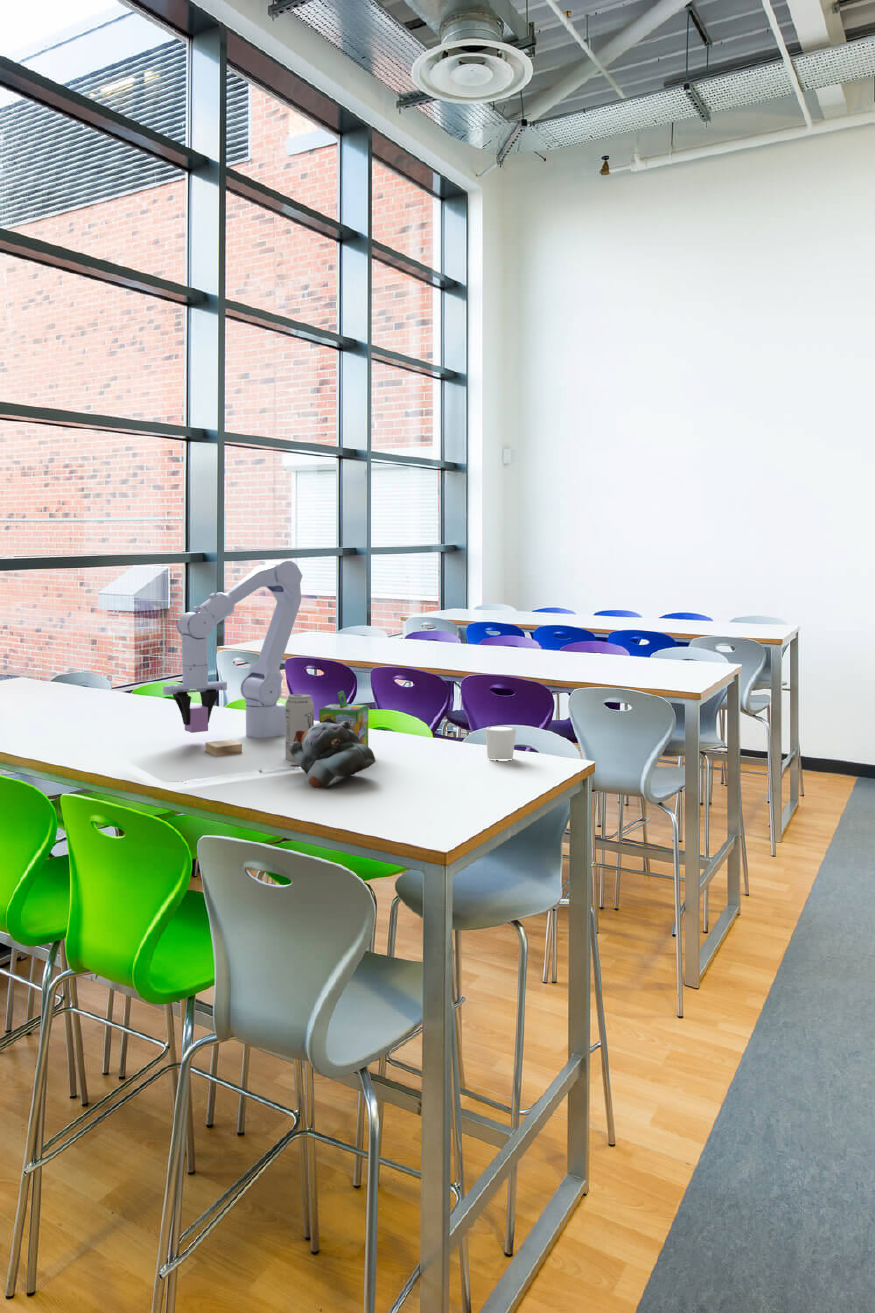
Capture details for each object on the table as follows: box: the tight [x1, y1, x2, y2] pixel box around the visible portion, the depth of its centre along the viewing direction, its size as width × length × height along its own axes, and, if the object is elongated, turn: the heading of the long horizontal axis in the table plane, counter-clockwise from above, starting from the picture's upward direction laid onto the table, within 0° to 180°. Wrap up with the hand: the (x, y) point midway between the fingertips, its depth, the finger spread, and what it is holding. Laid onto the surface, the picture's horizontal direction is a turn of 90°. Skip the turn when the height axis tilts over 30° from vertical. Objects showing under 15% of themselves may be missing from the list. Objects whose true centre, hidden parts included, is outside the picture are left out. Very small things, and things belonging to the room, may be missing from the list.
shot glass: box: [485, 725, 517, 760], centre depth 202 cm, size 7×7×7 cm
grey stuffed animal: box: [288, 718, 377, 789], centre depth 179 cm, size 15×12×14 cm
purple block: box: [184, 704, 209, 734], centre depth 206 cm, size 4×4×6 cm
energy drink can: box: [284, 693, 315, 768], centre depth 192 cm, size 6×6×15 cm
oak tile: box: [204, 739, 243, 757], centre depth 198 cm, size 6×6×2 cm
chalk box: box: [319, 690, 369, 747], centre depth 201 cm, size 9×9×15 cm
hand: (196, 723), depth 206 cm, fingers closed on purple block, 4 cm apart
